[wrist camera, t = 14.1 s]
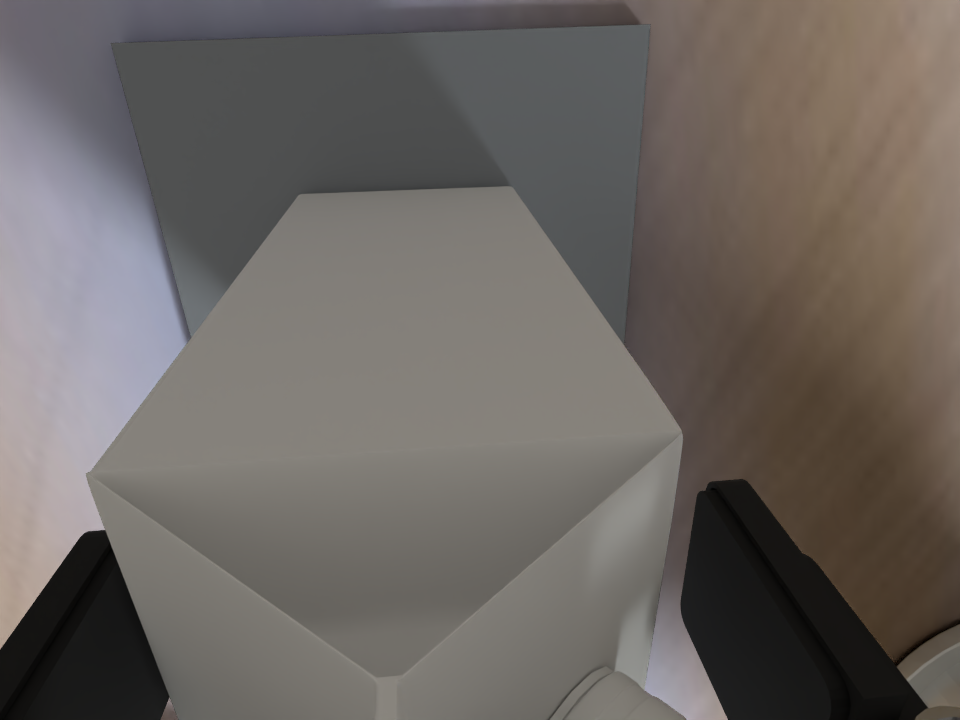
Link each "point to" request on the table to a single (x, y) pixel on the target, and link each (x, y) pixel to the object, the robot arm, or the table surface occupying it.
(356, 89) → the mat
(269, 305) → the milk carton
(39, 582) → the table surface
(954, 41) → the table surface
